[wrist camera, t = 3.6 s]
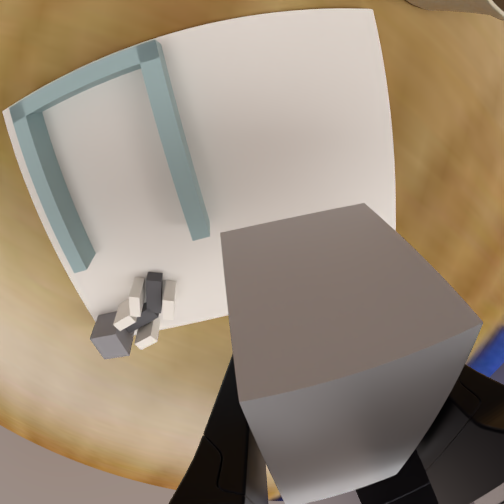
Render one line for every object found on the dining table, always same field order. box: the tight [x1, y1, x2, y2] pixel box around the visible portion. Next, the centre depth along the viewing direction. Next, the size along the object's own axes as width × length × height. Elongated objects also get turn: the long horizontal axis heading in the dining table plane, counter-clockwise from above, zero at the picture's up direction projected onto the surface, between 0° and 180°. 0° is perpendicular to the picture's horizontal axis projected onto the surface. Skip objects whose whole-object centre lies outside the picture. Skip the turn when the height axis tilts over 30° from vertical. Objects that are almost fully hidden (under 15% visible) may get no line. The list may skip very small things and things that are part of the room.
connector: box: [220, 203, 483, 504], centre depth 9 cm, size 4×11×5 cm, turn 10°
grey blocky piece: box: [90, 272, 163, 359], centre depth 20 cm, size 5×6×3 cm
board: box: [2, 8, 396, 335], centre depth 18 cm, size 19×24×1 cm
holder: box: [9, 40, 210, 273], centre depth 15 cm, size 9×11×2 cm
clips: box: [113, 277, 176, 350], centre depth 21 cm, size 5×5×2 cm
